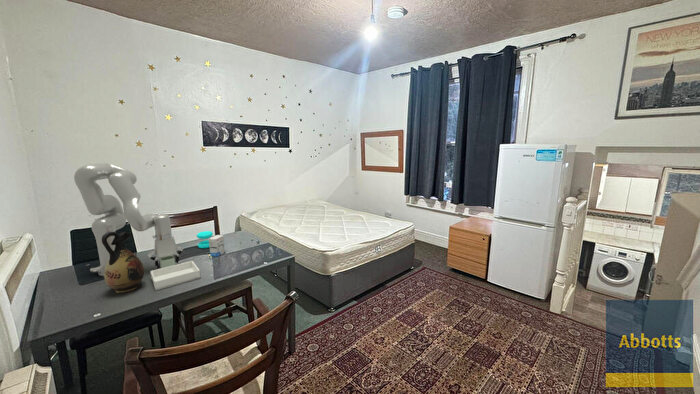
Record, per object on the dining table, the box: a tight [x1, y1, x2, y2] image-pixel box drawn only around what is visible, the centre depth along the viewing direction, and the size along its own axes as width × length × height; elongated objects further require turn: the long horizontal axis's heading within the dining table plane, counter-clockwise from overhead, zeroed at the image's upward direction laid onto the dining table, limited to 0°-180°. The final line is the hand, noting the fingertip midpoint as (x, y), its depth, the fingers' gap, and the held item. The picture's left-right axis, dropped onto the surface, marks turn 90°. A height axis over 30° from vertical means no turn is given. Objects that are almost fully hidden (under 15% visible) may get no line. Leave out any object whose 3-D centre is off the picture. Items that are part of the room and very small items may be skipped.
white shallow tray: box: [149, 260, 201, 291], centre depth 148 cm, size 20×16×4 cm
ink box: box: [208, 234, 226, 258], centre depth 181 cm, size 9×5×12 cm, turn 168°
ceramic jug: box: [102, 231, 145, 294], centre depth 135 cm, size 17×15×30 cm
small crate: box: [158, 255, 176, 269], centre depth 161 cm, size 6×6×6 cm
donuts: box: [196, 230, 214, 249], centre depth 194 cm, size 10×10×10 cm
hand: (167, 264), depth 161 cm, fingers open, 9 cm apart
